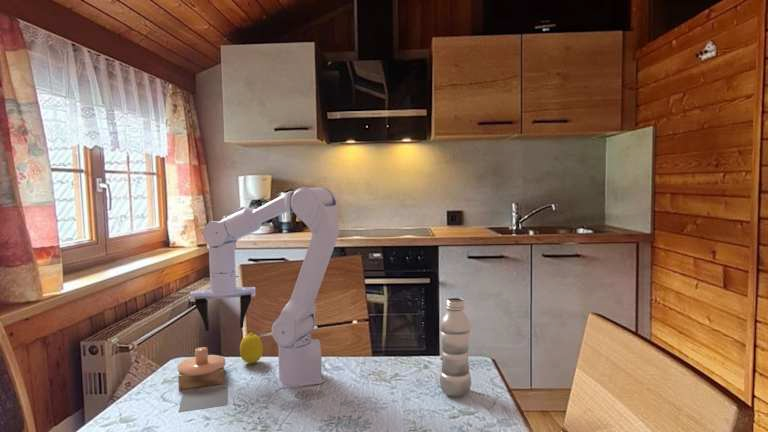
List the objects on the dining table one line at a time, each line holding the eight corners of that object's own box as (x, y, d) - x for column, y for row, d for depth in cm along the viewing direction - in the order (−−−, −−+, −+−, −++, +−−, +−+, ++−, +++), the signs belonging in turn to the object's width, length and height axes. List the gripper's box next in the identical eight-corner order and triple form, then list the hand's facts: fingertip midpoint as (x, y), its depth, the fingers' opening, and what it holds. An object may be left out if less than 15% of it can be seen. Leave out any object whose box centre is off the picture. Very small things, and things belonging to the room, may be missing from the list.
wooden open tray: (224, 370, 110) (223, 356, 110) (223, 385, 102) (222, 370, 101) (183, 375, 107) (182, 361, 107) (178, 391, 99) (178, 376, 99)
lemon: (257, 369, 110) (256, 337, 110) (235, 368, 112) (234, 336, 111) (267, 361, 116) (266, 330, 115) (247, 359, 117) (246, 328, 116)
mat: (227, 388, 101) (227, 386, 101) (227, 406, 92) (227, 404, 92) (183, 394, 98) (183, 392, 98) (178, 414, 89) (178, 412, 89)
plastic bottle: (477, 392, 97) (477, 299, 96) (459, 404, 92) (459, 305, 91) (451, 384, 101) (451, 294, 100) (433, 394, 96) (432, 300, 95)
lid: (225, 355, 110) (225, 339, 110) (224, 371, 101) (224, 353, 100) (180, 361, 107) (179, 344, 107) (175, 378, 98) (174, 359, 97)
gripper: (253, 266, 114) (255, 320, 115) (190, 270, 110) (193, 326, 111) (255, 271, 108) (256, 328, 109) (188, 276, 103) (190, 335, 104)
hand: (224, 328), depth 109 cm, fingers open, 7 cm apart
